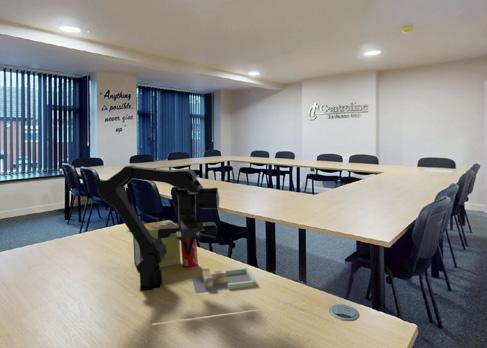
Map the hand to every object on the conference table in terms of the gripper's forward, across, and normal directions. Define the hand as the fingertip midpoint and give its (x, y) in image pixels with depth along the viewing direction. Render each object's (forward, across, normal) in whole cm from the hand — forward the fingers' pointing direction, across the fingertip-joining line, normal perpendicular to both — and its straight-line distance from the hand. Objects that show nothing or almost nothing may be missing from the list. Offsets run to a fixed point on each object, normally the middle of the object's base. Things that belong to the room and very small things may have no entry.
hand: (188, 255), depth 109 cm
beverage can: (+11, +2, +17) cm, 20 cm away
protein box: (+11, -10, +23) cm, 28 cm away
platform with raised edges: (+11, +12, 0) cm, 16 cm away
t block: (+10, +9, 0) cm, 13 cm away
